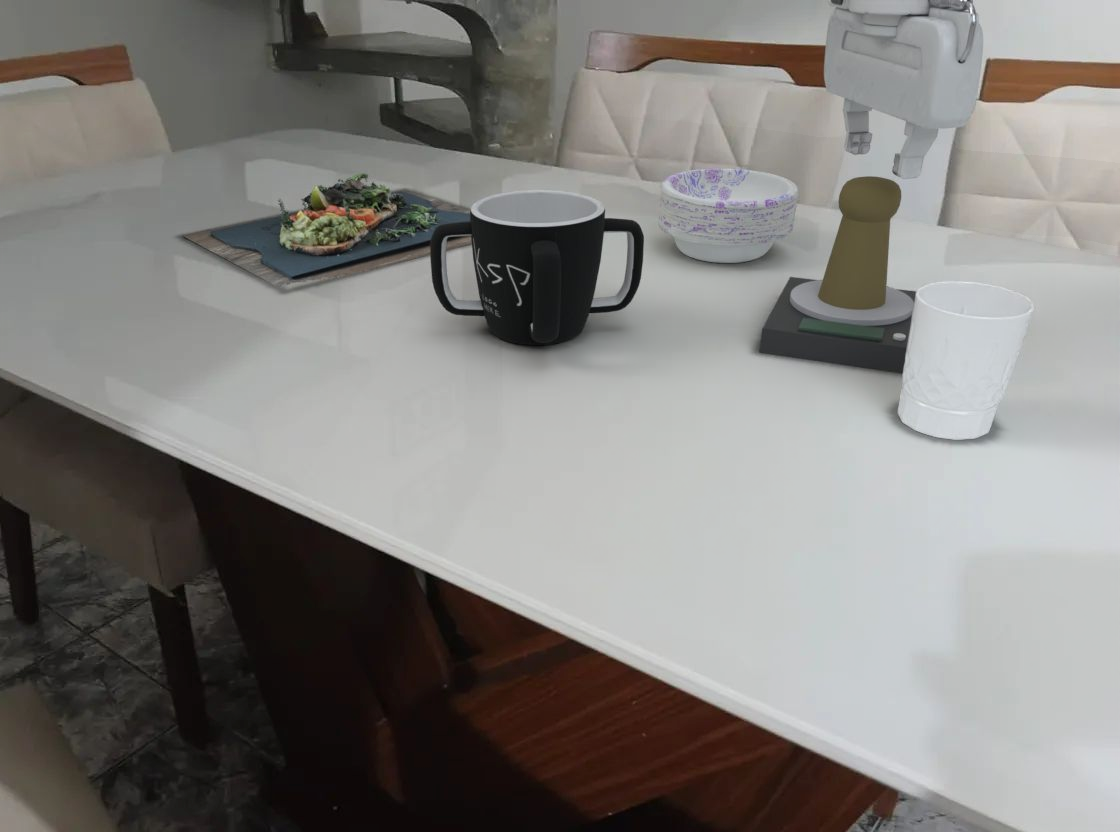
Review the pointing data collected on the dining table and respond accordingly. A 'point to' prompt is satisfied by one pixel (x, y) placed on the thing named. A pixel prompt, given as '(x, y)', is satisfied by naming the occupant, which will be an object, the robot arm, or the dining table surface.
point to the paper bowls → (727, 212)
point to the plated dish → (336, 233)
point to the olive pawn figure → (861, 245)
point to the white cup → (960, 356)
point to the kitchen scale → (838, 328)
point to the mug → (537, 263)
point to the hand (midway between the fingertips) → (879, 164)
